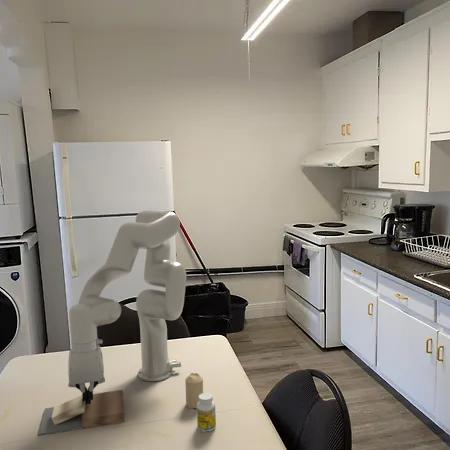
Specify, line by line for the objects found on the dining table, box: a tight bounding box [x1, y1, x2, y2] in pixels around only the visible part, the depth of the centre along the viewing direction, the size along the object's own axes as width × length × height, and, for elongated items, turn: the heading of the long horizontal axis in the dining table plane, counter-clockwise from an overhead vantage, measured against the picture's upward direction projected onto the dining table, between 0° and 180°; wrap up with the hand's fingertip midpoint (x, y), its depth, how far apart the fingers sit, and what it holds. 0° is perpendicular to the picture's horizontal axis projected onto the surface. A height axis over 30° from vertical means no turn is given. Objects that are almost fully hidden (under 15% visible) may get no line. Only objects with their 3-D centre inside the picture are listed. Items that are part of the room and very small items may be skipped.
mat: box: [37, 406, 83, 437], centre depth 132 cm, size 12×14×1 cm
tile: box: [52, 394, 85, 425], centre depth 132 cm, size 9×6×2 cm, turn 105°
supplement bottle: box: [196, 392, 217, 432], centre depth 126 cm, size 5×5×10 cm
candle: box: [184, 372, 204, 409], centre depth 138 cm, size 6×6×10 cm
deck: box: [81, 389, 126, 430], centre depth 135 cm, size 12×14×3 cm
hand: (88, 402), depth 134 cm, fingers closed
